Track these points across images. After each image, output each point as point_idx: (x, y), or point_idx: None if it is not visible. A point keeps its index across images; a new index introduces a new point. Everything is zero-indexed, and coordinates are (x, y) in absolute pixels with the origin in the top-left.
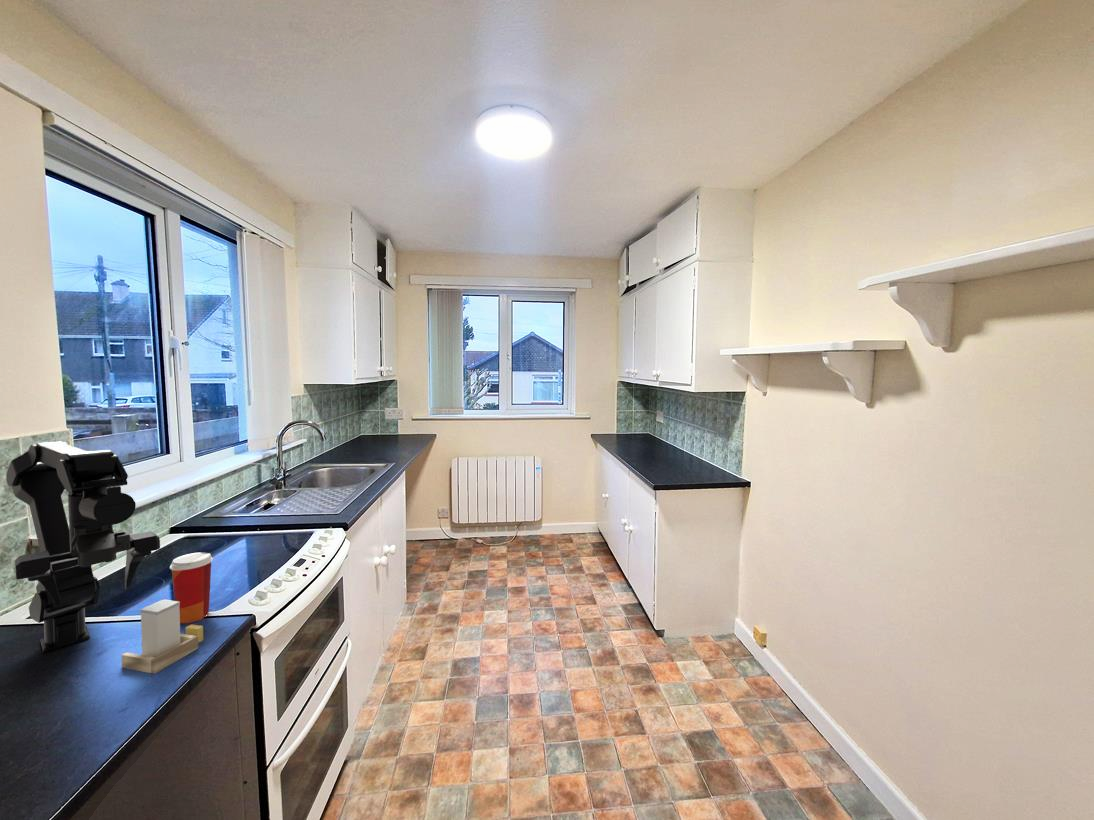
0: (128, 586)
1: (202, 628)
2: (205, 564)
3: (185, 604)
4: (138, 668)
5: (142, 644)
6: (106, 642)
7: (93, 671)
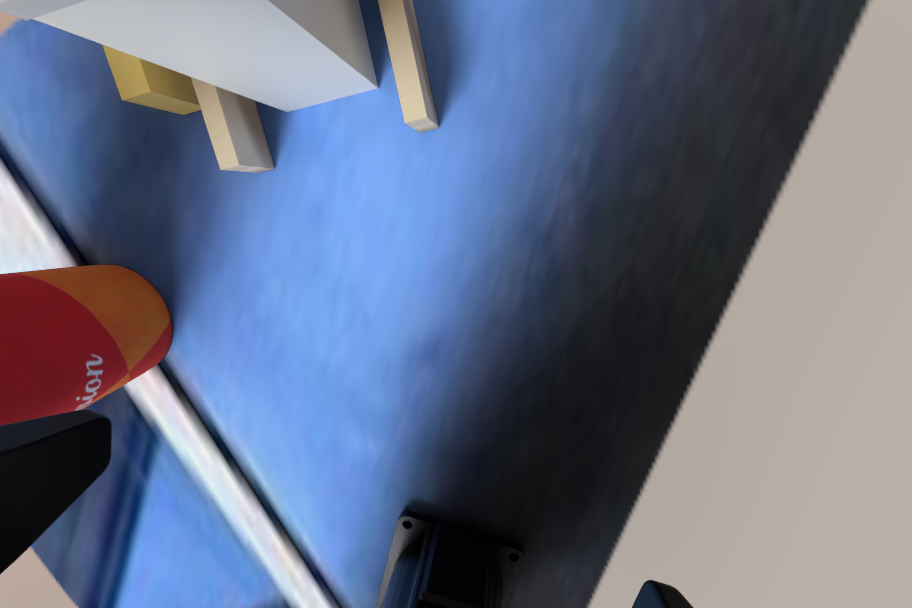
0: (70, 418)
1: None
2: None
3: (63, 306)
4: (414, 12)
5: (343, 57)
6: (384, 422)
7: (504, 215)
